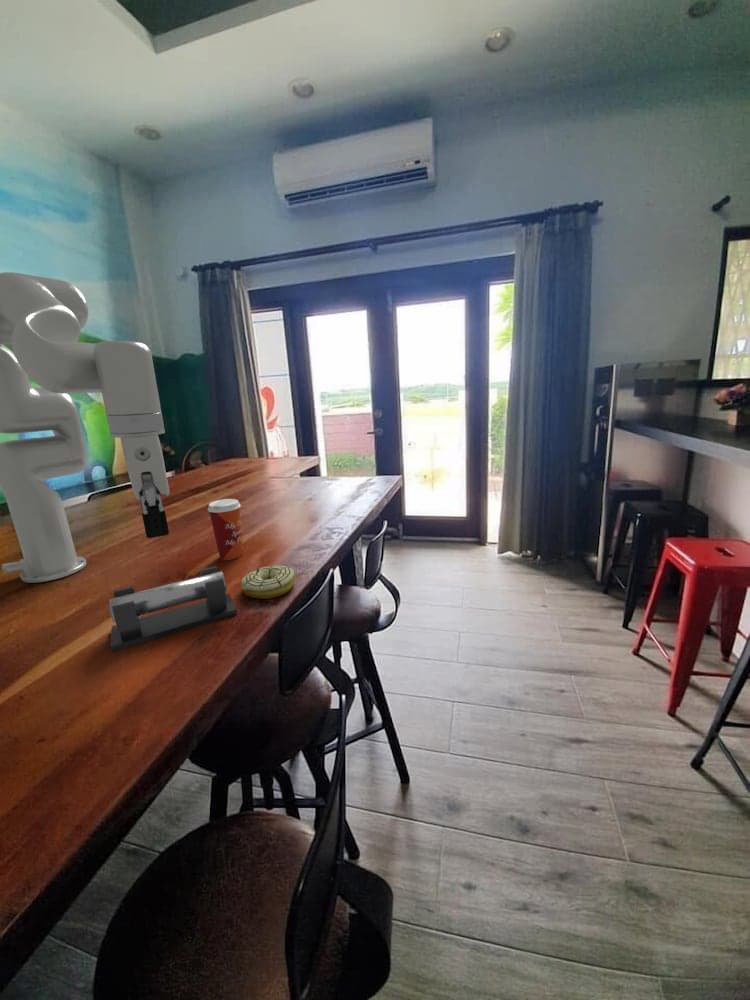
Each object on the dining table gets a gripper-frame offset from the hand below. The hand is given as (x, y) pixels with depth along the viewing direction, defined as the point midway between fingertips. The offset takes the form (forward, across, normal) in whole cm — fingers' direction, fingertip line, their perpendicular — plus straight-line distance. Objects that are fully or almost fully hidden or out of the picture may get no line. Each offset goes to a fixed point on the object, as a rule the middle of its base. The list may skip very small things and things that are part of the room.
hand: (156, 527), depth 69 cm
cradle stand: (+18, -1, 0) cm, 18 cm away
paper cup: (+19, +25, -15) cm, 35 cm away
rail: (+13, -1, 0) cm, 13 cm away
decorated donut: (+19, +2, -18) cm, 26 cm away
